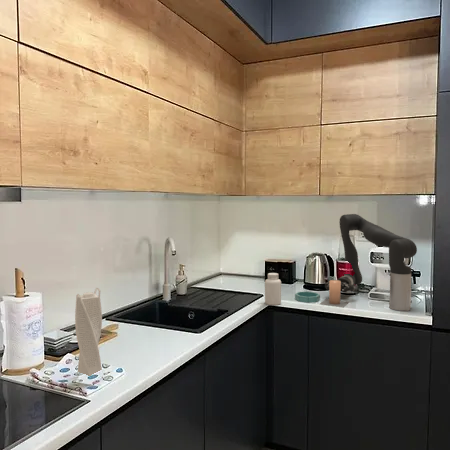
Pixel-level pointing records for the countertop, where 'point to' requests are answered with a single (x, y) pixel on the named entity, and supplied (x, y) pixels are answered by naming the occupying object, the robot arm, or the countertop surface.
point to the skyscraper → (88, 331)
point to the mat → (342, 304)
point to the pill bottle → (273, 289)
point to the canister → (334, 291)
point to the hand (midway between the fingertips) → (336, 289)
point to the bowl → (307, 297)
